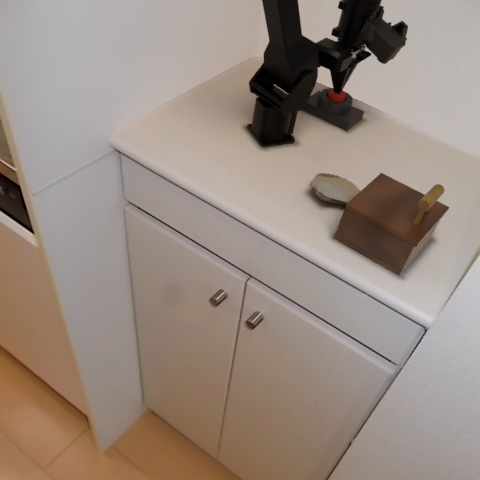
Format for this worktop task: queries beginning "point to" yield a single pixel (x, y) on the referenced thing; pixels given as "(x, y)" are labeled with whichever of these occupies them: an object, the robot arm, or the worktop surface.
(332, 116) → the button block
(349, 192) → the seashell
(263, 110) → the robot arm
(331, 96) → the button
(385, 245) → the chest
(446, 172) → the worktop surface
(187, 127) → the worktop surface
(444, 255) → the worktop surface
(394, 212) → the lid
